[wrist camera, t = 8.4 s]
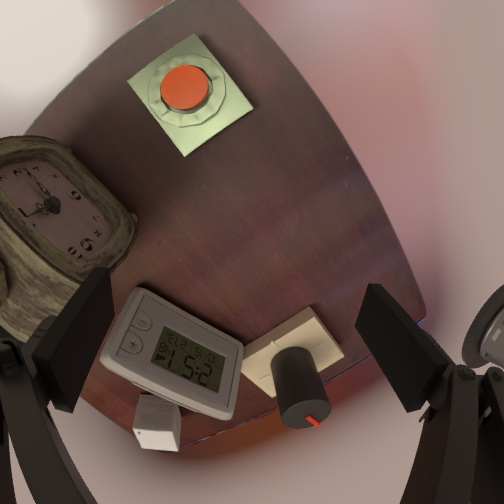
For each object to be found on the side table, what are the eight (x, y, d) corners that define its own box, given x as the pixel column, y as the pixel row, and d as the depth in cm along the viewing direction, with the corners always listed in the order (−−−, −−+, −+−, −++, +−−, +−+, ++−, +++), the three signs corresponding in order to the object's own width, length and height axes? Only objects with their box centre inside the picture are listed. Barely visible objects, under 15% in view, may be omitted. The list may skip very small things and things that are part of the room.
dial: (261, 361, 36) (272, 418, 27) (299, 339, 35) (318, 394, 27) (284, 382, 38) (297, 436, 29) (319, 362, 37) (339, 414, 29)
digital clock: (250, 345, 38) (259, 406, 28) (203, 377, 40) (202, 437, 30) (155, 264, 32) (131, 317, 23) (112, 308, 34) (84, 364, 24)
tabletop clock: (155, 218, 30) (35, 407, 7) (109, 271, 32) (4, 449, 9) (68, 131, 26) (-132, 170, 3) (29, 191, 27) (-131, 285, 4)
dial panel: (307, 303, 36) (313, 315, 34) (339, 346, 40) (346, 358, 37) (230, 351, 38) (231, 364, 36) (271, 387, 42) (273, 399, 39)
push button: (217, 93, 23) (217, 90, 22) (180, 119, 24) (177, 118, 22) (192, 61, 22) (190, 56, 20) (155, 87, 22) (151, 84, 21)
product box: (146, 414, 42) (140, 448, 36) (139, 392, 40) (131, 428, 33) (181, 417, 43) (179, 452, 36) (177, 394, 41) (172, 432, 34)
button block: (252, 110, 27) (256, 106, 24) (187, 156, 28) (181, 159, 25) (196, 38, 24) (192, 25, 20) (132, 84, 25) (120, 78, 21)
